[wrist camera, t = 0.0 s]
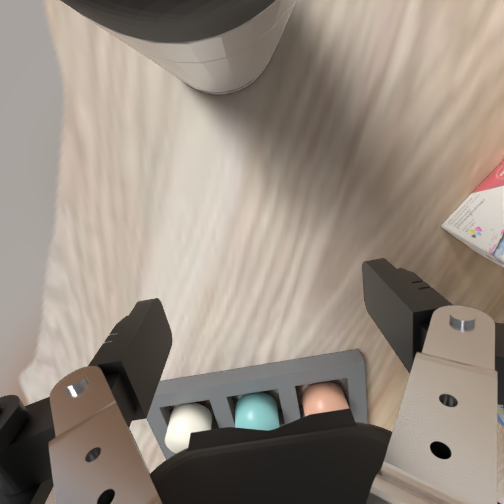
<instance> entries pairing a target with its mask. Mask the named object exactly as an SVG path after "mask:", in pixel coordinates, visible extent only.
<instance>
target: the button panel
mask: <svg viewBox="0 0 504 504" xmlns="http://www.w3.org/2000/svg"><path fill="white" fill-rule="evenodd" d="M337 379H344V390H345V398H346V401H347V404H348V406H349V408H350V409H351V412H352V415H353V417H354V420H355V422H360V423H366V424H368V420H367V400H366V379H365V361H364V359H363V357H362V355H361V353H360V351H359V349H355V350H349V351H342V352H336V353H330V354H324V355H318V356H312V357H306V358H300V359H293V360H287V361H281V362H275V363H269V364H263V365H257V366H250V367H244V368H238V369H232V370H226V371H220V372H214V373H208V374H201V375H195V376H189V377H183V378H177V379H171V380H165V381H159V384H158V387H157V389H156V392H155V395H154V398H153V401H152V404H151V407H150V410H149V412H148V415H147V421H148V423H149V425H150V427H151V429H152V431H153V433H154V435H155V437H156V440H157V442H158V444H159V446H160V448H161V450H162V452H163V454H164V456H165V459H166V460H167V459H169V458H170V457H172V456H173V455H175V454H176V453H174V452H172V451H171V450H170V449H168V447H167V446H166V444H165V437H166V433H167V429H168V425H169V421H170V417H171V410H170V408H169V406H173V405H179V404H185V403H191V402H198V401H204V400H210V403H211V406H212V409H213V412H214V415H215V418H216V420H214V421H212V425H211V430H212V429H219V428H225V427H235V408H234V405H233V401H232V398H231V396H236V395H242V394H248V393H255V392H261V391H267V390H274V389H278V393H279V398H280V403H281V407H282V410H279V411H278V418H279V427H281V426H283V425H286V424H288V423H291V422H293V421H295V420H298V419H300V418H303V417H305V414H304V409H303V407H299V406H298V401H297V395H296V389H295V386H299V385H305V384H311V383H318V382H324V381H330V380H337Z"/></svg>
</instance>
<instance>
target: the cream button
mask: <svg viewBox="0 0 504 504" xmlns="http://www.w3.org/2000/svg"><path fill="white" fill-rule="evenodd" d="M211 425H212V414H211V412H210V410H209V409H208V408H206V407H205V406H203V405H201V404H198V403H185V404H181V405H178V406H177V407H175V408H174V409H173V411H172V413H171V417H170V421H169V425H168V429H167V433H166V437H165V444H166V446H167V447H168V449H170V450H171V451H172V452H174V453H178V452H180V451H182V450H184V449H186V448H188V445H189V440H190V434H191V433H193V432H199V431H206V430H211Z"/></svg>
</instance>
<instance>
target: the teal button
mask: <svg viewBox="0 0 504 504" xmlns="http://www.w3.org/2000/svg"><path fill="white" fill-rule="evenodd" d="M278 427H279V418H278V410H277V403H276V401H275V399H274V398H273V397H272V396H270V395H268V394H266V393H262V392H255V393H248V394H246V395H244V396H242V397H241V398H240V399H239V400H238V401H237V403H236V408H235V428H246V429H256V430H273V429H276V428H278Z"/></svg>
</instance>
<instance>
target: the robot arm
mask: <svg viewBox="0 0 504 504" xmlns="http://www.w3.org/2000/svg"><path fill="white" fill-rule="evenodd" d="M61 1H62V2H64V3H65V4H67V5H68V6H70V7H71V8H73V9H74V10H76V11H77V12H79V13H80V14H81V15H83V16H84V17H86V18H87V19H89V20H91V21H92V22H94V23H95V24H97V25H98V26H100V27H101V28H103V29H104V30H106V31H107V32H109V33H110V34H112V35H113V36H115V37H116V38H118V39H119V40H121V41H123V42H124V43H126V44H127V45H129V46H130V47H132V48H133V49H135V50H137V51H138V52H140V53H141V54H143V55H144V56H146V57H147V58H149V59H150V60H152V61H153V62H155V63H156V64H158V65H159V66H161V67H162V68H164V69H165V70H167V71H168V72H170V73H171V74H173V75H174V76H176V77H177V78H179V79H180V80H182V81H184V82H185V83H187V84H188V85H190V86H191V87H193V88H195V89H197V90H199V91H202V92H205V93H210V94H217V95H219V94H230V93H233V92H236V91H239V90H242V89H243V88H245V87H247V86H248V85H250V84H251V83H253V82H254V81H255V80H256V79H257V78H258V77H259V76H260V75H261V74H262V72H263V71H264V69H265V68H266V66H267V65H268V63H269V62H270V60H271V57H272V55H273V53H274V51H275V49H276V47H277V45H278V43H279V40H280V38H281V36H282V33H283V31H284V29H285V27H286V24H287V22H288V20H289V18H290V15H291V13H292V11H293V8H294V6H295V4H296V2H297V0H61ZM362 272H363V289H364V301H365V305H366V308H367V311H368V313H369V315H370V316H371V318H372V319H373V320H374V322H375V323H376V325H377V326H378V328H379V329H380V331H381V332H382V334H383V335H384V337H385V338H386V340H387V341H388V342H389V344H390V345H391V347H392V348H393V350H394V351H395V353H396V354H397V356H398V357H399V359H400V360H401V362H402V363H403V364H404V366H405V367H406V369H407V370H408V372H409V373H410V376H409V379H408V382H407V386H406V389H405V392H404V396H403V399H402V402H401V406H400V409H399V412H398V416H397V419H396V422H395V425H394V429H393V432H391V431H389V430H387V429H384V428H381V427H378V426H375V425H371V424H366V423H360V422H355V420H354V417H353V415H352V412H351V409H350V408H349V409H342V410H336V411H329V412H323V413H316V414H310V415H308V416H305V417H303V418H300V419H298V420H295V421H293V422H291V423H288V424H286V425H283V426H281V427H278V428H276V429H273V430H256V429H246V428H235V427H225V428H219V429H212V430H206V431H199V432H193V433H191V434H190V440H189V445H188V448H186V449H184V450H182V451H180V452H178V453H176V454H175V455H173V456H172V457H170V458H169V459H167V460H166V461H164V462H163V463H162V464H161V465H159V466H158V467H157V468H156V469H155V470H154V471H153V472H152V473H151V474H150V472H149V470H148V468H147V465H146V463H145V461H144V459H143V457H142V455H141V452H140V450H139V448H138V446H137V444H136V442H135V440H134V437H133V435H132V433H131V431H130V429H129V427H130V424H131V422H132V420H138V419H145V418H147V415H148V412H149V410H150V407H151V404H152V401H153V398H154V395H155V392H156V389H157V387H158V384H159V381H160V378H161V375H162V372H163V369H164V367H165V364H166V361H167V358H168V355H169V352H170V349H171V346H172V333H171V329H170V326H169V324H168V321H167V318H166V315H165V312H164V309H163V306H162V304H161V301H160V300H159V299H158V298H155V299H150V300H144V301H139V302H137V304H136V305H135V307H134V308H133V310H132V311H131V313H130V315H129V316H126V317H125V318H124V319H122V320H121V321H120V322H119V323H118V324H116V326H115V327H114V328H113V330H112V331H111V333H110V336H108V337H107V339H106V340H105V343H104V344H103V345H102V346H101V348H100V349H99V351H98V352H97V353H96V355H95V356H94V358H93V359H92V361H91V362H90V364H89V365H88V366H87V367H83V368H80V369H78V370H76V371H74V372H72V373H70V374H68V375H67V376H65V377H64V378H63V379H61V380H60V381H59V382H58V383H57V384H56V385H55V386H54V388H53V389H52V391H51V393H50V397H48V398H45V399H43V400H40V401H38V402H35V403H32V404H30V405H27V406H24V405H23V403H22V402H21V400H20V399H19V397H18V396H15V395H8V396H4V397H1V398H0V504H45V502H46V500H47V498H48V496H49V494H50V492H51V490H52V488H53V486H54V492H55V500H56V504H500V503H499V502H497V405H504V324H501V323H494V321H493V319H492V318H491V317H490V316H489V315H487V314H486V313H484V312H482V311H480V310H477V309H474V308H471V307H466V306H458V305H452V304H451V303H450V302H449V301H447V300H446V299H445V298H444V297H442V296H441V295H440V294H439V293H438V292H436V291H435V290H434V289H433V288H430V286H429V285H428V284H427V283H426V282H423V280H422V279H421V278H420V277H418V276H417V275H416V274H415V273H413V272H410V271H407V270H405V269H402V268H399V269H396V268H395V267H394V266H393V265H391V264H390V263H389V262H388V261H387V260H386V259H384V258H382V259H377V260H371V261H365V262H363V265H362Z"/></svg>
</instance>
